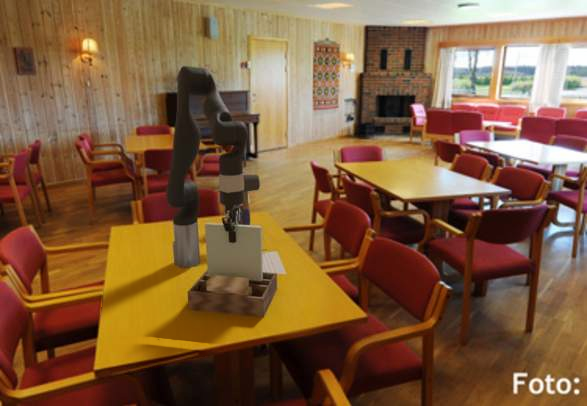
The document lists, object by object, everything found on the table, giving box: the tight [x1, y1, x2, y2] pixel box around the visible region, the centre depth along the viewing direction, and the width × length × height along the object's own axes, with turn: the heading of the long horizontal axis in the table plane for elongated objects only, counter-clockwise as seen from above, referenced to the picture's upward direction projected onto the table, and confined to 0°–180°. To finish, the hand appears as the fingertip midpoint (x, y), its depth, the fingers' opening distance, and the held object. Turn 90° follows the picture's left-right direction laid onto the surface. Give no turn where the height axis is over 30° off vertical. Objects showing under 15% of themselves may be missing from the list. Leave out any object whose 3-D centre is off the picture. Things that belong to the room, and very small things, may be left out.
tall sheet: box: [204, 222, 263, 281], centre depth 139 cm, size 18×2×18 cm, turn 79°
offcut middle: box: [210, 287, 252, 296], centre depth 136 cm, size 12×5×3 cm, turn 79°
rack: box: [187, 270, 278, 318], centre depth 141 cm, size 24×18×8 cm
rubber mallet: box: [242, 174, 261, 225], centre depth 194 cm, size 12×8×30 cm, turn 105°
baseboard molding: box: [262, 248, 287, 275], centre depth 167 cm, size 31×3×12 cm
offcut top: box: [206, 275, 249, 294], centre depth 135 cm, size 12×5×3 cm, turn 79°
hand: (233, 241), depth 138 cm, fingers closed on tall sheet, 1 cm apart
